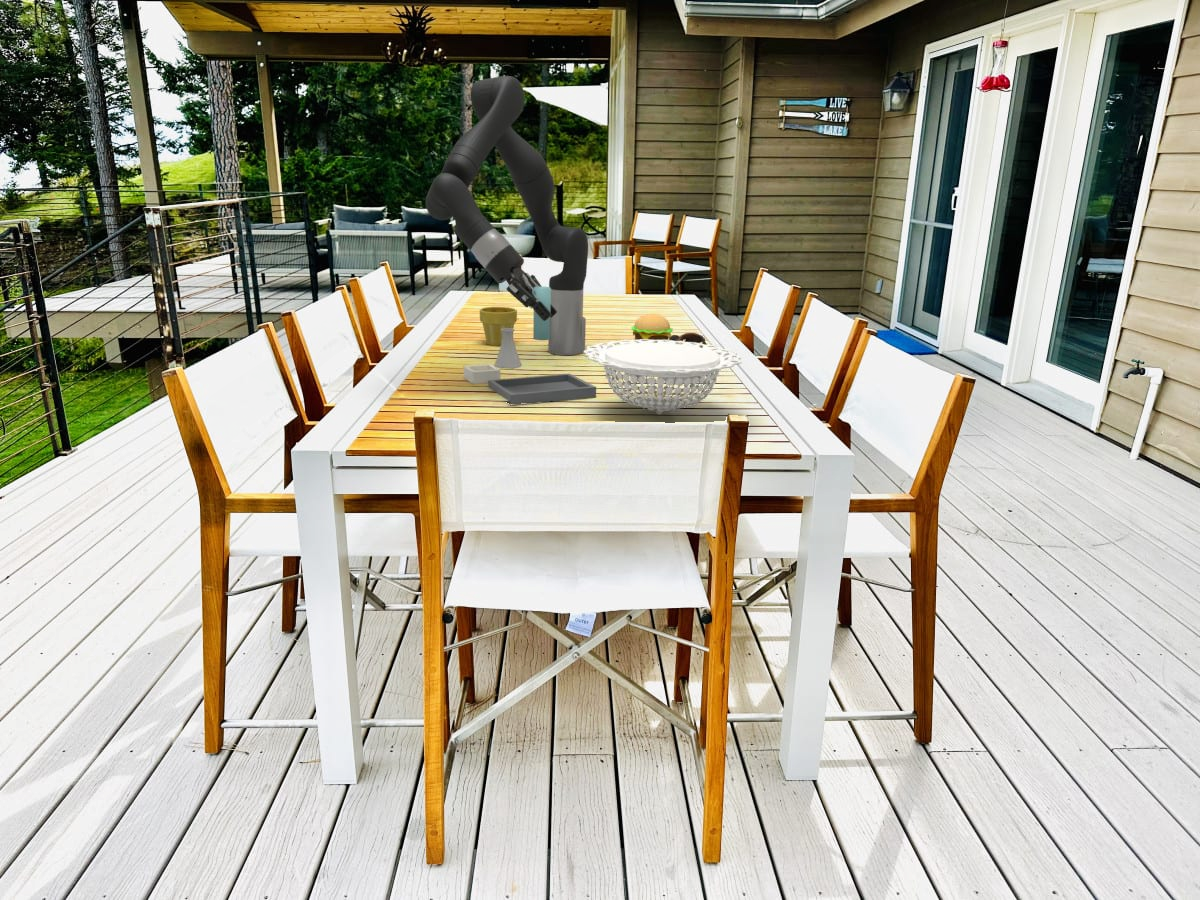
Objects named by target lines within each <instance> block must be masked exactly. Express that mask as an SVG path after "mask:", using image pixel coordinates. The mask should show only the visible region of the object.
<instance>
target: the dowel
mask: <svg viewBox="0 0 1200 900" xmlns="http://www.w3.org/2000/svg"><path fill="white" fill-rule="evenodd" d="M534 290H535V295H536V296H537V297H538V298H539V300H540V301H541V302H542V303H543V304H544V306H545V307H546V308H547V309H548V310H549V311H550V307H551V288H550V287H549V286H542V287H534ZM540 301H539V302H540ZM532 326H533V329H532V330H533V332H532V333H533V340H536V341H548V340H550V317H549V318H548V319H547V320H546V321H543V320H542V319H541V317H540V316H539V315H538V314H537V313H536V312H535V311H534V310H533V325H532Z"/></svg>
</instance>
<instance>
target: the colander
mask: <svg viewBox="0 0 1200 900" xmlns="http://www.w3.org/2000/svg"><path fill="white" fill-rule="evenodd" d="M643 340H645V341H643ZM664 341H665V342H664ZM636 342H637V343H636ZM655 342H657V343H655ZM676 343H677V344H676ZM695 344H696V345H695ZM701 346H703V348H701ZM732 351H733V350H731V349H726V348H722V347H719V346H717V345H711V344H707V345H704V344H702V343H695V342H685V341H684V340H683V341H672V340H649V339H640V340H634V339H621V340H617V341H616V340H610V341H609V342H599V343H597V344H595V345H589V346H586V349H585V350H584V353H583V354H584V358H585V357H586V358H587V359H588V360H590V361H593V362H595V363H598V364H599V365H601V366H603V369H604V371H605V378H606V380H607V382H608V386H609V388H611V389H612V391H613V393H614V395H616V396H617V397H618V398H620V400H622V402H625V403H629V404H630V405H632V406H633V405H634V406H637V407H640V408H641V407H642V409H643V410H645V409H647V410H648V411H655V412H656V414H657V415H661V414H662V412H663V411H666V412H670V411H672V410H674V411H676V410H677V409H684V408H688V407H691V406H692V407H693V406H695V405H697V404H699V403H700V402H701V401H703V400H704V399H706V398H707V397H708V395H709V394H710V393H711V391H713V387H714V385H715V384H716V383H717V377H718V376H719V372H720V371H722V369H731V368H733V367H735V365H741V364H742V363H743V362H742V361H741V359H742V357H741V356H740V355H738V354H737V353H735V352H732ZM621 380H622V381H621ZM637 384H640V386H638V385H637ZM644 384H646V385H644ZM655 384H656V385H655ZM664 384H666V385H665V386H663V385H664ZM675 386H677V387H676V388H675ZM681 386H683V388H681ZM633 391H634V392H633ZM681 393H683V394H681Z"/></svg>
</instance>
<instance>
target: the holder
mask: <svg viewBox="0 0 1200 900" xmlns="http://www.w3.org/2000/svg"><path fill="white" fill-rule="evenodd" d="M462 367H463V369H462V370H463V373H462V374H463V379H464V380H466V381H467V382H469V383H471V384H472V385H477V384H488V380H496V379H501V369H500V368H498V367H494V365H492V364H490V363H488V364H487V363H485V364H477V365H476V364H474V365H463V366H462Z"/></svg>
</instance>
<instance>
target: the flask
mask: <svg viewBox="0 0 1200 900" xmlns="http://www.w3.org/2000/svg"><path fill="white" fill-rule="evenodd" d="M501 331H502V333H503V334H502V343H501V346H500V349H499V351H498V354H497V358H496V360H495V362H494V365H493V366H494V367H496V368H498V369H507V370H509V369H512V370H513V369H519V368H521V367H522V366H523V364H522V361H521V359H520V356H519V353H518V351H517V348H516V345H515V340H514V332H515V328H502V329H501Z"/></svg>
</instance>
